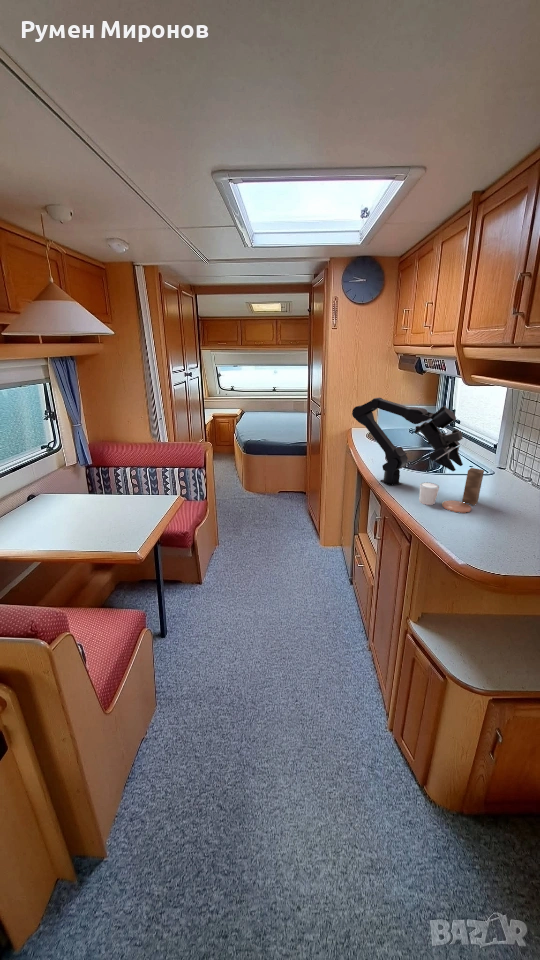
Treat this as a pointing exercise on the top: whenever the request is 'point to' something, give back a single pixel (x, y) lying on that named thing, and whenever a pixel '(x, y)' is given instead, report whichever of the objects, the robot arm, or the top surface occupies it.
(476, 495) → the walnut block
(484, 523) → the top surface
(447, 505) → the orange flat disc
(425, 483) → the white short cylinder
